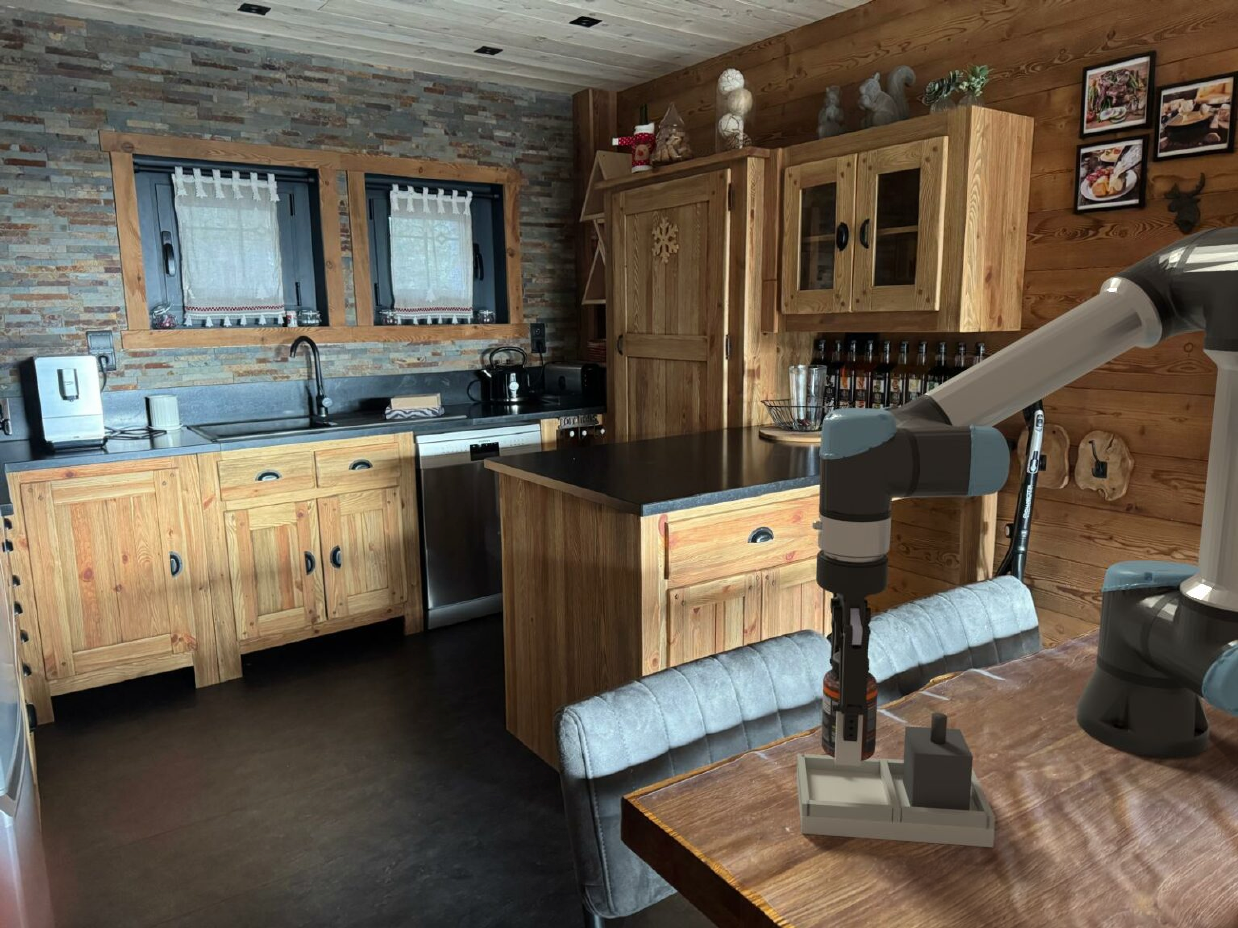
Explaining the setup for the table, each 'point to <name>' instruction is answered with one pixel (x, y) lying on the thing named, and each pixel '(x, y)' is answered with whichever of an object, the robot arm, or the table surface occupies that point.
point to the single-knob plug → (937, 766)
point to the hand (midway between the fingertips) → (844, 747)
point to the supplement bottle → (830, 716)
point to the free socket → (838, 808)
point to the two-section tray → (896, 809)
